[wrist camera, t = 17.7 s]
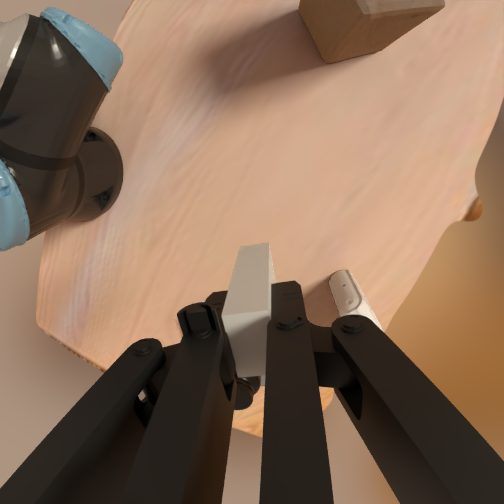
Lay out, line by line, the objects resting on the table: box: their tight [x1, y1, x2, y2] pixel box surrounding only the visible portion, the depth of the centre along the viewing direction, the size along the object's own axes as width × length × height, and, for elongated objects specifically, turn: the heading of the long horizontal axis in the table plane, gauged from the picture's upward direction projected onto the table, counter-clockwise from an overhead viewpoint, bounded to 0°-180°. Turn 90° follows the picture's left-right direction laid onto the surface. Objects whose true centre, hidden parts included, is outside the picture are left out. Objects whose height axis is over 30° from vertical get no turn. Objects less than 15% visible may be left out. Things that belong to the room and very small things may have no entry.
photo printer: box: [329, 270, 383, 331], centre depth 43 cm, size 10×4×12 cm, turn 34°
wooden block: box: [299, 0, 445, 63], centre depth 26 cm, size 10×10×20 cm
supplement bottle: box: [234, 368, 261, 410], centre depth 47 cm, size 7×7×12 cm
